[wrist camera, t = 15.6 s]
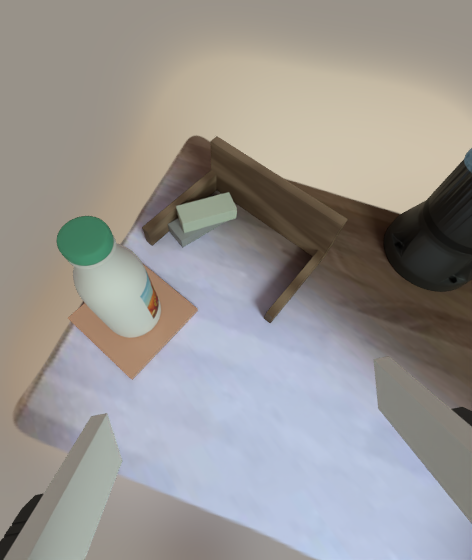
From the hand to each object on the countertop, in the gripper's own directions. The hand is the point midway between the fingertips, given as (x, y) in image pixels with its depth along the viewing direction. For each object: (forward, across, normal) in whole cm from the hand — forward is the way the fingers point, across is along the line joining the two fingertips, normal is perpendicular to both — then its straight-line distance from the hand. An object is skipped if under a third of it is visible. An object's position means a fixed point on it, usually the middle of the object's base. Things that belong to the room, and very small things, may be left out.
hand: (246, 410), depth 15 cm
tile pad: (+31, -14, -3) cm, 35 cm away
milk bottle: (+31, -14, -3) cm, 34 cm away
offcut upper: (+40, -1, +9) cm, 41 cm away
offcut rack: (+39, +3, +3) cm, 39 cm away
